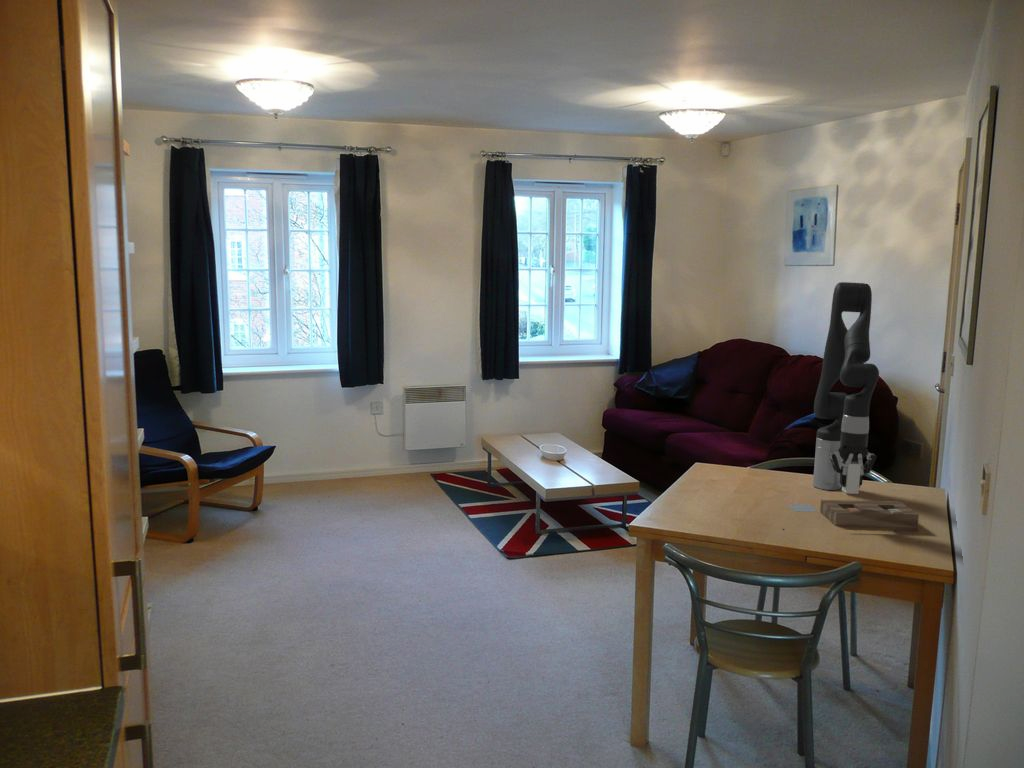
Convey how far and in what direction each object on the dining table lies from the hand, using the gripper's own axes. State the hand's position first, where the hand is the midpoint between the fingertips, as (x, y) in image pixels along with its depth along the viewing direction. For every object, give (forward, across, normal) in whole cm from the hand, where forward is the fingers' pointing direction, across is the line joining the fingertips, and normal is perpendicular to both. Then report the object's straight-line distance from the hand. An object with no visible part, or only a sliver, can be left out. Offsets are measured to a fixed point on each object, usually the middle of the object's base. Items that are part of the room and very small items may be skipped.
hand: (850, 486), depth 254 cm
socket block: (+11, -6, 0) cm, 13 cm away
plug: (+2, 0, 0) cm, 2 cm away
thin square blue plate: (+11, +10, -11) cm, 18 cm away
